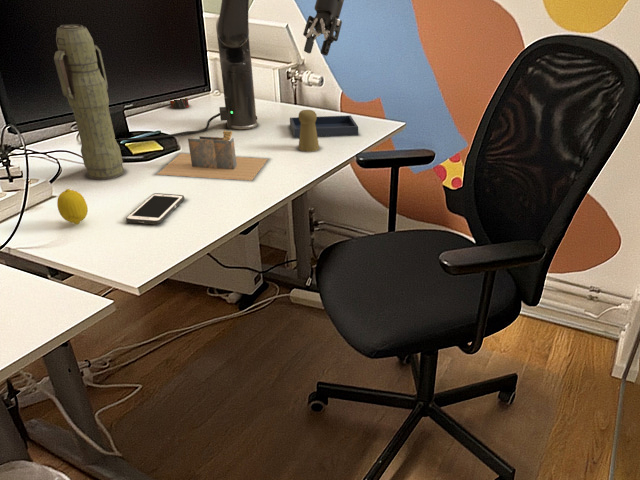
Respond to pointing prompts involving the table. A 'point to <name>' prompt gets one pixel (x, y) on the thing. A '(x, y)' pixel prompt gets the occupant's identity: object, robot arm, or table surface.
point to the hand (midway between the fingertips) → (315, 53)
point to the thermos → (88, 100)
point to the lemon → (72, 206)
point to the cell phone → (155, 208)
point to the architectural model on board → (213, 160)
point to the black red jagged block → (179, 104)
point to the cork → (308, 131)
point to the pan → (328, 126)
